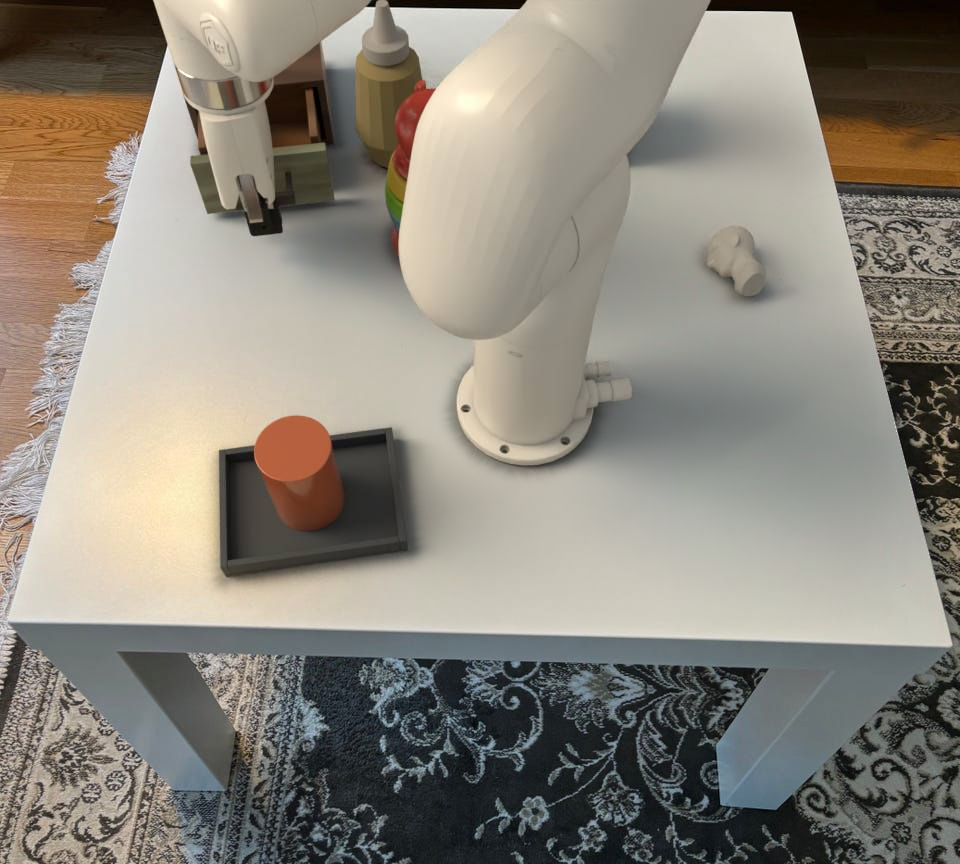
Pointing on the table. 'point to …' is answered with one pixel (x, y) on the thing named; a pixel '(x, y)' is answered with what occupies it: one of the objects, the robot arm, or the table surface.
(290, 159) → the drawer
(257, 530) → the tray
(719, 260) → the pale two-lobed sculpture
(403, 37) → the squeeze bottle
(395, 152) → the stacking bear
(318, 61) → the cabinet
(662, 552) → the table surface
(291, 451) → the copper cylinder
